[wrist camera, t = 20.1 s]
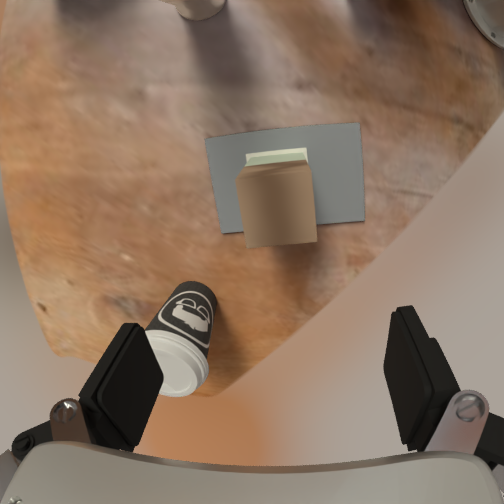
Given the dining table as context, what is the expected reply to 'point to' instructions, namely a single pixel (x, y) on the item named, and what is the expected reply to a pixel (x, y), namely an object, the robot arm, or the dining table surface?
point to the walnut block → (277, 204)
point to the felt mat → (317, 156)
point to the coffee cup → (183, 338)
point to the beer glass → (196, 8)
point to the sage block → (275, 158)
